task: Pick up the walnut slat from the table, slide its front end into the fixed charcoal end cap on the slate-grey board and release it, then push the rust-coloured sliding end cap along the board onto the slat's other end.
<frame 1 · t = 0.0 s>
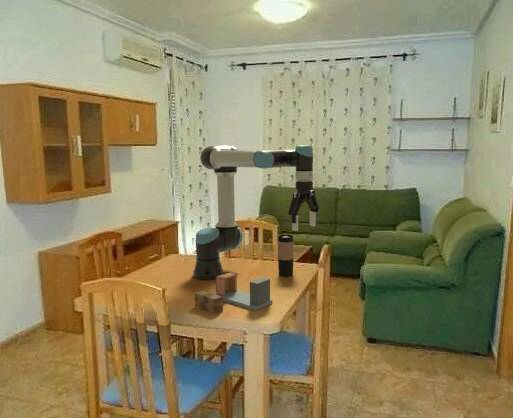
hand: (304, 228, 200), 28 cm above the table, fingers open, 13 cm apart
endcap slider: (226, 283, 195), point 6 cm above the table, slide at 0.0 cm
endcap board: (241, 300, 190), on the table
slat: (208, 309, 181), on the table
travel mug: (285, 275, 225), on the table
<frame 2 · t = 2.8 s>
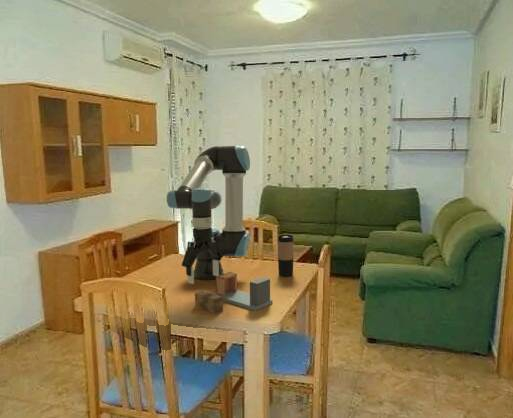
hand: (203, 279, 180), 12 cm above the table, fingers open, 13 cm apart
nothing on the table moved.
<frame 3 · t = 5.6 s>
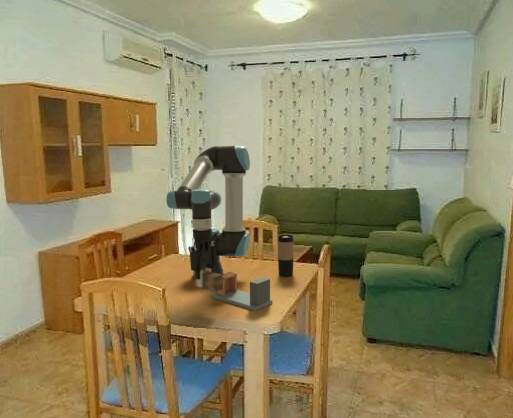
hand: (204, 284, 181), 9 cm above the table, fingers closed on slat, 4 cm apart
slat: (208, 287, 180), point 9 cm above the table, touching gripper
everything else where it was.
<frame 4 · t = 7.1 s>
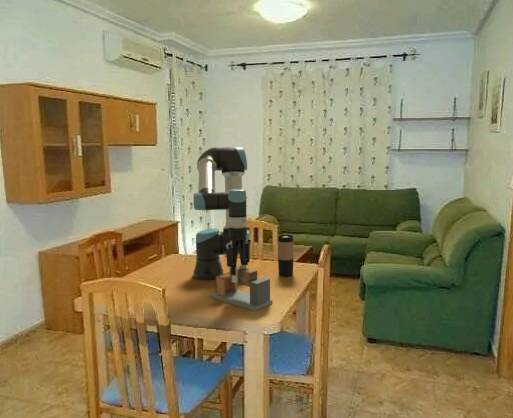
hand: (238, 280, 189), 8 cm above the table, fingers closed on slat, 4 cm apart
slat: (243, 283, 187), point 8 cm above the table, touching gripper
everything else where it was.
when the fingers open (3 cm above the table, at t = 8.8 s): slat drops 1 cm, resting on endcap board.
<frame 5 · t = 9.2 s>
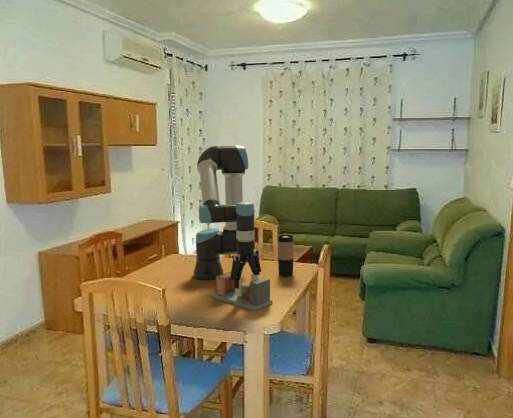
hand: (246, 292, 187), 4 cm above the table, fingers open, 9 cm apart
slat: (251, 299, 186), point 1 cm above the table, touching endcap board
everything else where it was.
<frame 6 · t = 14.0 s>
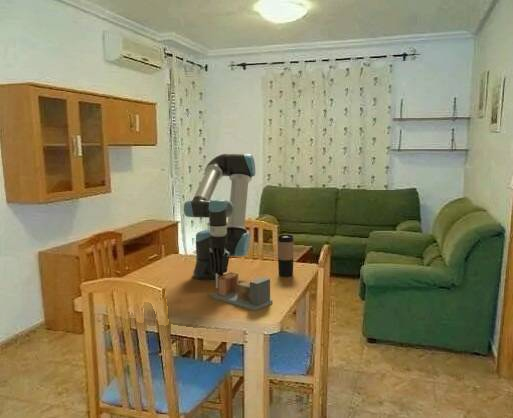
hand: (219, 287, 198), 3 cm above the table, fingers closed
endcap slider: (228, 284, 194), point 6 cm above the table, slide at 0.9 cm, touching gripper
everything else where it was.
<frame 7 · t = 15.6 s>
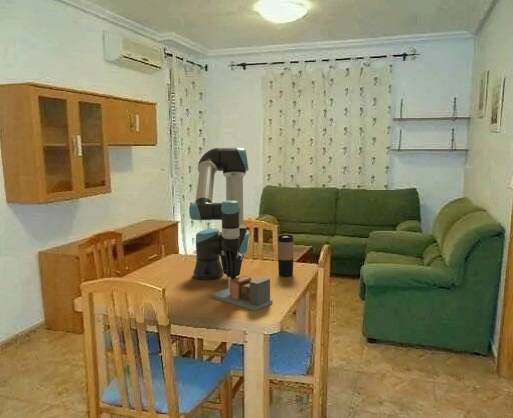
hand: (231, 290, 193), 3 cm above the table, fingers closed
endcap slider: (240, 287, 189), point 6 cm above the table, slide at 8.5 cm, touching gripper
everything else where it was.
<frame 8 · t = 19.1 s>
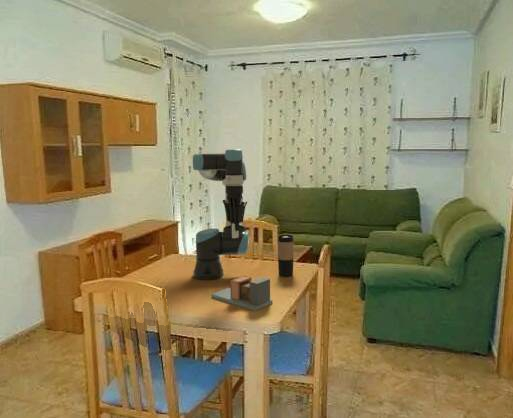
hand: (235, 237, 199), 24 cm above the table, fingers closed
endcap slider: (241, 287, 189), point 6 cm above the table, slide at 8.6 cm
everything else where it was.
at the end: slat 0.4 cm from the target spot on the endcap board, point 1.5 cm above the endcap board's base; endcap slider slide at 8.6 cm; the gripper is holding nothing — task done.
